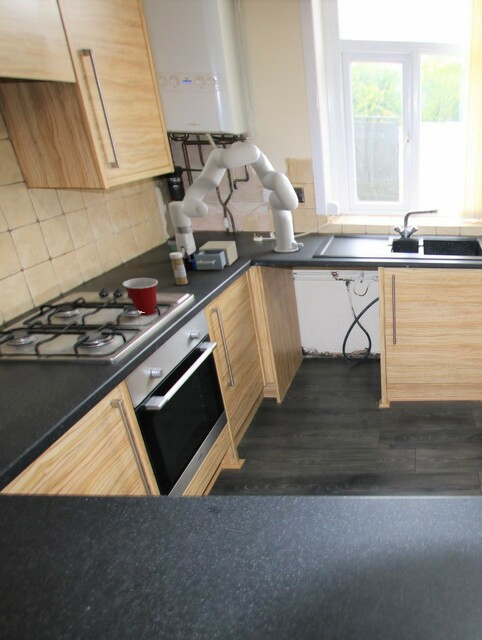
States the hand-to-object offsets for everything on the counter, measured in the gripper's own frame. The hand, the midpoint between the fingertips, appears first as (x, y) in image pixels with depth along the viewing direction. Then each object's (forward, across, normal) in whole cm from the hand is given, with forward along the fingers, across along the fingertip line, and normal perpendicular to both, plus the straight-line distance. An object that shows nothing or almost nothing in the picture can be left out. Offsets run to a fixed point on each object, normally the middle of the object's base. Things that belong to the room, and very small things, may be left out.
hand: (191, 267), depth 224 cm
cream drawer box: (0, -11, +10) cm, 15 cm away
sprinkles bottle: (0, +23, +4) cm, 23 cm away
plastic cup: (0, +57, +4) cm, 57 cm away
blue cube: (0, 0, 0) cm, 0 cm away
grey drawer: (-1, +1, +10) cm, 10 cm away
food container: (0, -17, -8) cm, 19 cm away
